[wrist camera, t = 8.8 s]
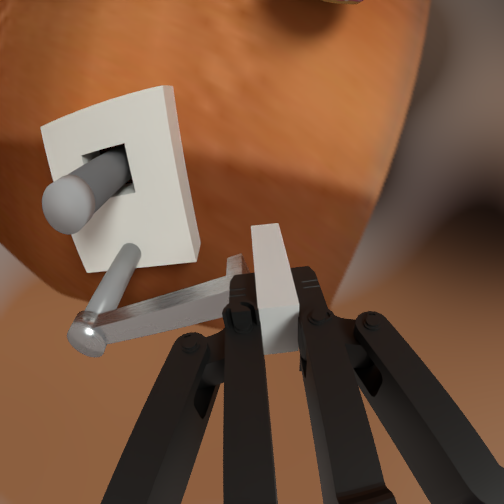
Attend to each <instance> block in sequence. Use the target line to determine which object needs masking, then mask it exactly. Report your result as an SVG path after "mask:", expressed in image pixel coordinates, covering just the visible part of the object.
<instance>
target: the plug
mask: <svg viewBox="0 0 504 504" xmlns="http://www.w3.org/2000/svg"><path fill="white" fill-rule="evenodd" d="M131 178H132V175H131V171H130V167H129V162H128V158H127V153H126V149H125V145H120V146H116V147H114V148H113V149H111V150H109V151H107V152H105V153H103V154H102V155H100V156H98V157H96V158H94V159H93V160H91V161H89V162H87V163H86V164H84V165H82V166H81V167H79V168H77V169H76V170H74V171H73V172H71V173H69V174H68V175H65V176H62V177H61V178H59V179H58V180H56V181H55V182H53V183H52V184H50V185H49V186H48V187H47V188H46V190H45V191H44V194H43V198H42V208H43V212H44V215H45V217H46V219H47V221H48V222H49V224H50V225H51V226H52V227H53V228H54V229H55V230H57V231H59V232H61V233H63V234H75V233H77V232H78V231H80V230H81V229H82V228H83V227H84V226H85V224H86V223H87V222H88V221H89V220H90V219H91V218H92V216H93V214H94V213H95V212H96V211H97V210H98V209H99V208H100V207H101V206H102V205H103V204H104V203H105V202H106V201H107V200H108V199H109V198H110V197H111V196H113V195H114V194H115V193H116V192H117V191H118V190H119V189H120V188H121V187H122V186H123V185H124V184H125V183H126V182H128V181H129V180H130V179H131Z"/></svg>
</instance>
